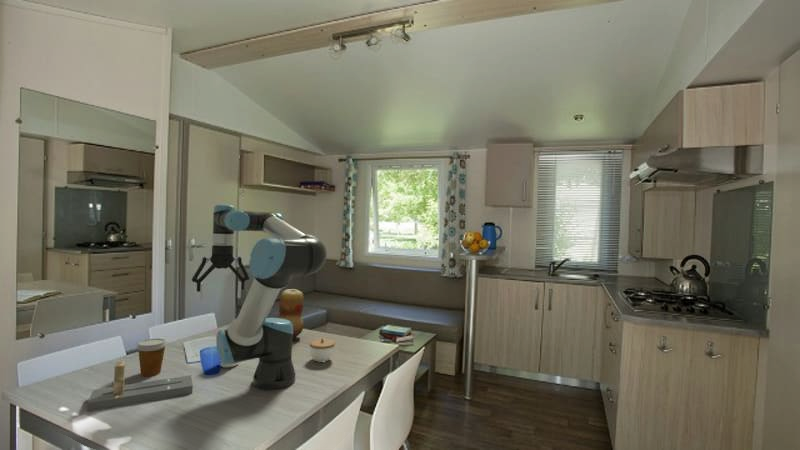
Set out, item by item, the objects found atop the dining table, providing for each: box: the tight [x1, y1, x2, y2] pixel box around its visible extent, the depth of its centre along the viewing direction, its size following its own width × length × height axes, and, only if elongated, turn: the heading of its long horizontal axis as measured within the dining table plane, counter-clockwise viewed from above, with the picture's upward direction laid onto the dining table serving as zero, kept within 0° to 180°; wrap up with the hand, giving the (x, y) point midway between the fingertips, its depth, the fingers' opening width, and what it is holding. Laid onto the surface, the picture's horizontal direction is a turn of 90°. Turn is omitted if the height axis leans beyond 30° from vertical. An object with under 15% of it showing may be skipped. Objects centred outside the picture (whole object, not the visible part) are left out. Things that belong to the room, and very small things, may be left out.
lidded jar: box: [309, 338, 335, 363], centre depth 165 cm, size 11×11×9 cm
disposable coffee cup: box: [136, 337, 168, 377], centre depth 144 cm, size 10×10×12 cm
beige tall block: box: [113, 360, 126, 395], centre depth 122 cm, size 2×4×9 cm, turn 32°
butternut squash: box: [278, 288, 305, 340], centre depth 193 cm, size 14×13×25 cm
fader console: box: [86, 374, 193, 412], centre depth 126 cm, size 28×10×3 cm, turn 122°
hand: (220, 298), depth 147 cm, fingers open, 13 cm apart
